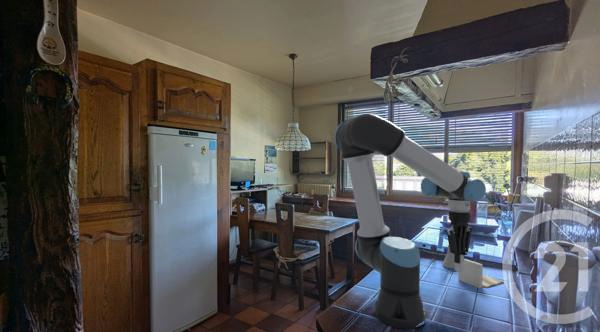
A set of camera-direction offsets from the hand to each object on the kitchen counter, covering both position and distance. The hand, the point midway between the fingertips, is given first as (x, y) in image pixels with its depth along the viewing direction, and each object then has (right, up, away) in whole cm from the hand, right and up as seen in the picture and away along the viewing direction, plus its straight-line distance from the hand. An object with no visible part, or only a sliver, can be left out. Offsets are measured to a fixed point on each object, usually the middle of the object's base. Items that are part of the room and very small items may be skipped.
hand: (459, 270), depth 113 cm
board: (+12, -6, +6) cm, 15 cm away
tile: (+6, -6, +3) cm, 9 cm away
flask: (+8, -6, +21) cm, 24 cm away
